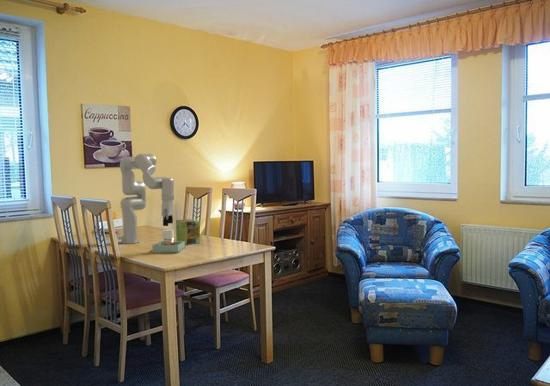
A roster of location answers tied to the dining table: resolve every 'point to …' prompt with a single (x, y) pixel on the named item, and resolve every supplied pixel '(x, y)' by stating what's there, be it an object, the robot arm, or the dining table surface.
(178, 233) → the protein box
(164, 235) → the grey block
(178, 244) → the tote
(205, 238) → the dining table surface
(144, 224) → the dining table surface
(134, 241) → the robot arm
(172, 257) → the dining table surface
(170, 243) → the clear brown jar
